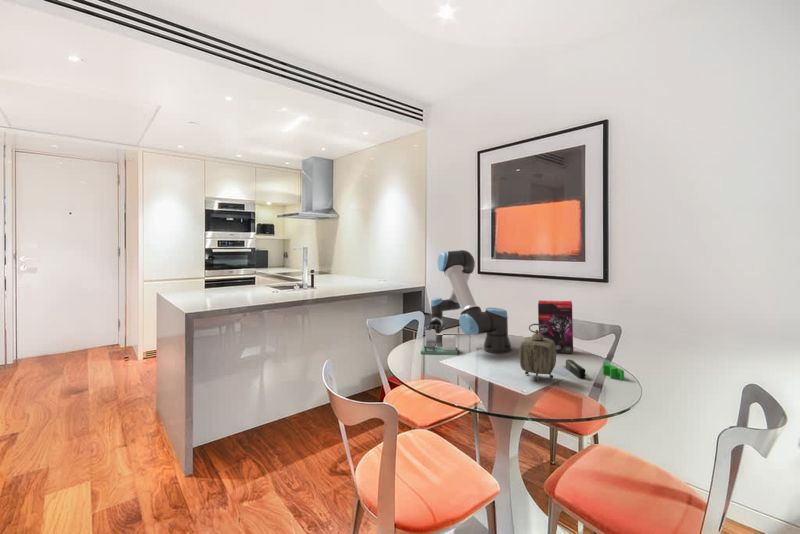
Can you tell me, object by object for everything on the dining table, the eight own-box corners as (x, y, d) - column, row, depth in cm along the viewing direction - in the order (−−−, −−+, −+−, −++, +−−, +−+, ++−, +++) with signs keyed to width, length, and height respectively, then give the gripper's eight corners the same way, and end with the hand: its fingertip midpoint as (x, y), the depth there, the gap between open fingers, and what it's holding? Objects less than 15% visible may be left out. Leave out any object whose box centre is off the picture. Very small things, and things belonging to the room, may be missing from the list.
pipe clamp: (598, 372, 173) (598, 362, 173) (605, 371, 174) (605, 361, 173) (616, 381, 162) (616, 371, 162) (624, 380, 163) (624, 370, 162)
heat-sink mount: (457, 349, 215) (457, 334, 214) (457, 354, 207) (456, 338, 206) (422, 349, 219) (422, 334, 218) (420, 353, 211) (420, 338, 210)
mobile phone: (586, 368, 166) (568, 356, 180) (580, 369, 165) (562, 357, 180) (586, 379, 166) (568, 366, 181) (580, 380, 166) (562, 367, 181)
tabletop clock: (556, 377, 169) (556, 322, 166) (553, 385, 161) (552, 327, 159) (523, 373, 176) (522, 320, 174) (518, 380, 168) (517, 324, 166)
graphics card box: (538, 352, 204) (537, 302, 202) (539, 348, 211) (538, 299, 208) (573, 354, 198) (573, 303, 195) (572, 350, 204) (572, 300, 202)
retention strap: (436, 347, 217) (435, 330, 216) (435, 349, 213) (435, 331, 212) (426, 347, 218) (425, 329, 217) (425, 349, 214) (424, 331, 213)
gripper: (446, 330, 243) (443, 341, 220) (426, 330, 246) (420, 340, 223) (445, 318, 243) (442, 328, 220) (425, 319, 245) (420, 328, 222)
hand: (431, 334), depth 221 cm, fingers closed
